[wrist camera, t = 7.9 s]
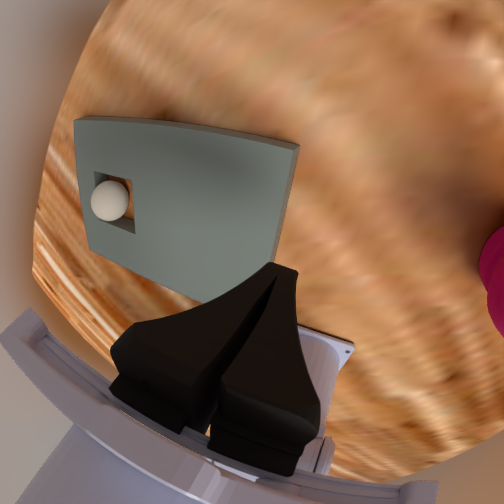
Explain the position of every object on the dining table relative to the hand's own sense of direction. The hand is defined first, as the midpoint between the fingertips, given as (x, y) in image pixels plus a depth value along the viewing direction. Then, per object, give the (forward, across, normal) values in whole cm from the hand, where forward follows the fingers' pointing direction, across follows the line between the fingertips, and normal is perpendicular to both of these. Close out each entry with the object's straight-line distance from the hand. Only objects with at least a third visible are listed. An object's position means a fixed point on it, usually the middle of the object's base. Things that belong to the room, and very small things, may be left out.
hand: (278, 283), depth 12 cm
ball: (+7, +18, +4) cm, 20 cm away
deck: (+9, +13, +4) cm, 17 cm away
